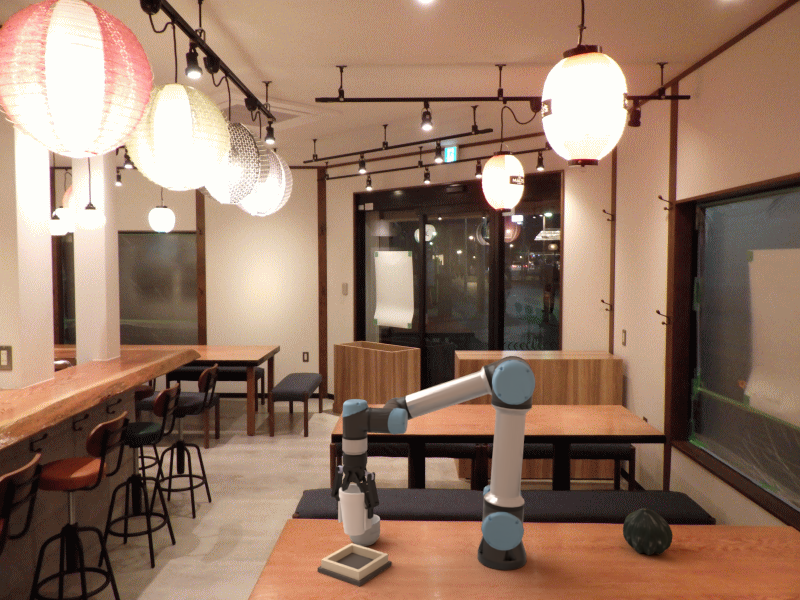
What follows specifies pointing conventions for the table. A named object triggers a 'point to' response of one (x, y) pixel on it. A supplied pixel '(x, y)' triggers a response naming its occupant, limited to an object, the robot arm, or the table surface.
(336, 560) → the tray
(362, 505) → the foam cup
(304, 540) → the table surface
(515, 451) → the robot arm
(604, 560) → the table surface
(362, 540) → the teacup
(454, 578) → the table surface
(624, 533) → the squash
